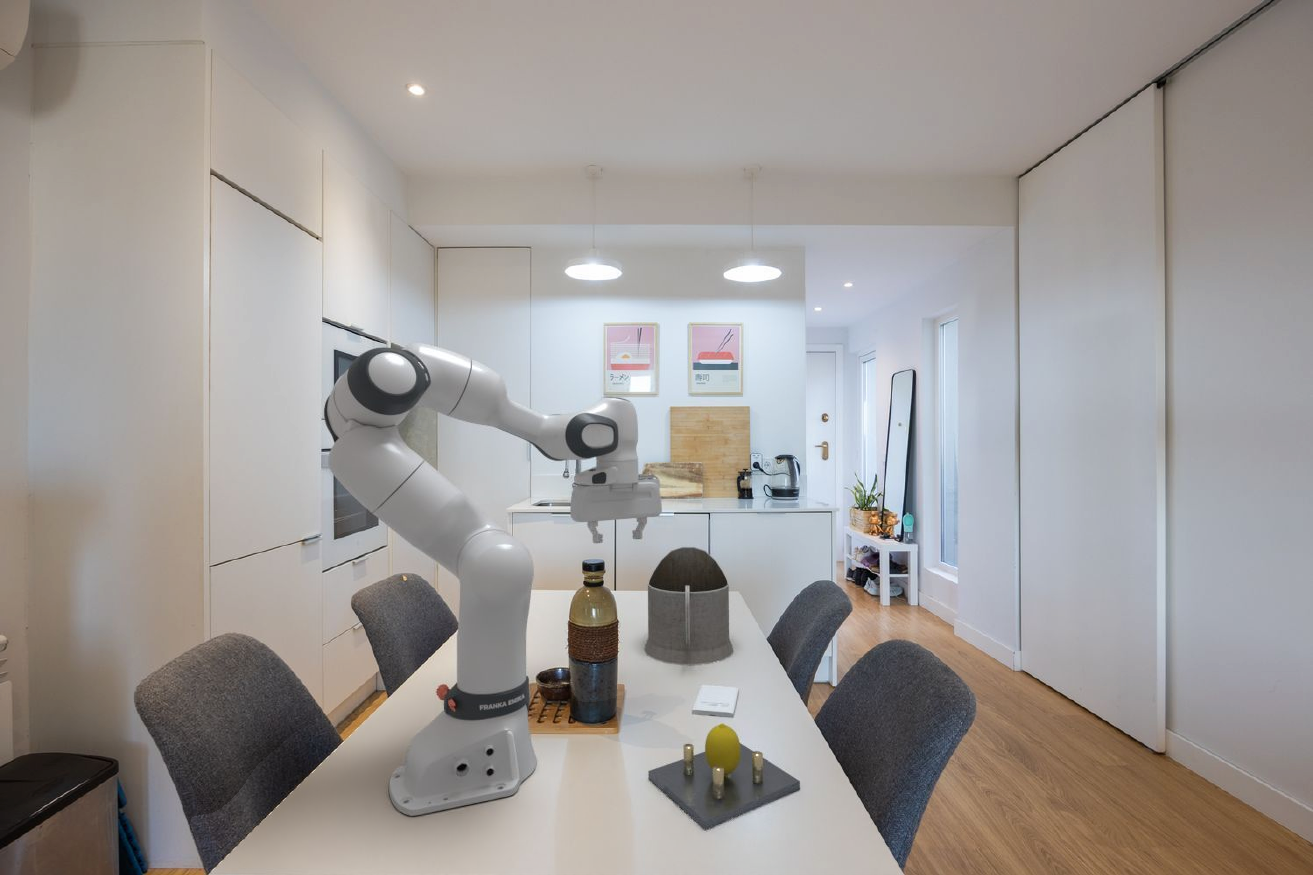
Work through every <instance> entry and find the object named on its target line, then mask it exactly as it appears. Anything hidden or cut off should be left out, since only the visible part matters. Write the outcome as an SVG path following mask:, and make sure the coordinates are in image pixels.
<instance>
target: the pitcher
mask: <svg viewBox="0 0 1313 875" xmlns="http://www.w3.org/2000/svg"><path fill="white" fill-rule="evenodd" d="M729 589H730V586H729V580H728V578H727V576H726V573H725V571H723V569H722V567H721V566H720V565H719V563H718V561H717V560H716V559H715V558H714V557H713V556H712V555H710V554H709V553H708V551H706V550H704V549H702V548H701V549H700V548H697V547H696V546H695V547H694V546H682V547H681V546H680V547H678V548H675V549H672V550H670V551H669V552H668V553H667V554H666V555H665V556H664V557H663V558H661V559H660V560H659V563H657V565H656V567H655V568H654V570H653V571H652V574H650V577H649V580H648V583H647V623H648V624H647V631H648V632H647V633H648V634H647V635H648V636H647V637H648V638H647V640H646V644H645V646H644V649H643V652H644V653H645V654H646V656H647V657H649V658H651V659H653V660H655V661H657V662H661V663H665V664H668V665H669V664H670V665H678V666H701V665H702V664H704V665H711V664H710V663H712V664H714V663H713V662H716V663H718V662H717V661H720V662H723V661H724V660H727V659H729V658H730V657H731V656H732V655H733V654H732V653H734V652H735V651H734V646H733V644H732V641H731V640H730V600H729V599H730V597H729V596H730V590H729ZM731 654H732V655H731ZM728 657H729V658H728ZM726 658H727V659H726Z"/></svg>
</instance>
